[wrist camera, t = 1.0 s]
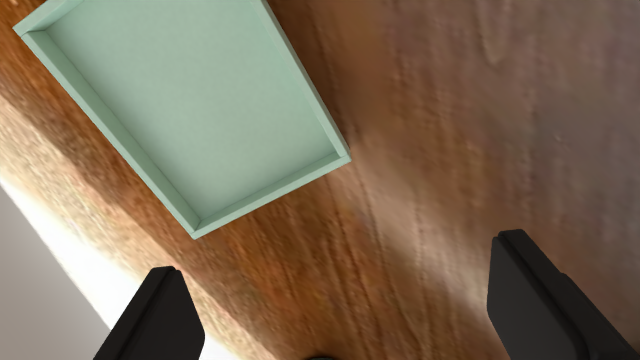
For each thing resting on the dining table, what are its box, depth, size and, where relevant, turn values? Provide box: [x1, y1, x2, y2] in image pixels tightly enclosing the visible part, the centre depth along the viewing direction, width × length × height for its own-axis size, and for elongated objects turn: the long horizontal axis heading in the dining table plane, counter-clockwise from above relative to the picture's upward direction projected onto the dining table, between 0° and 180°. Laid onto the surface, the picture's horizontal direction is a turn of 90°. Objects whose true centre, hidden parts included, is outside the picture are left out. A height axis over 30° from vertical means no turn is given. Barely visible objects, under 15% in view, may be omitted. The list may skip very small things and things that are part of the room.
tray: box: [13, 0, 352, 240], centre depth 33 cm, size 24×19×3 cm
